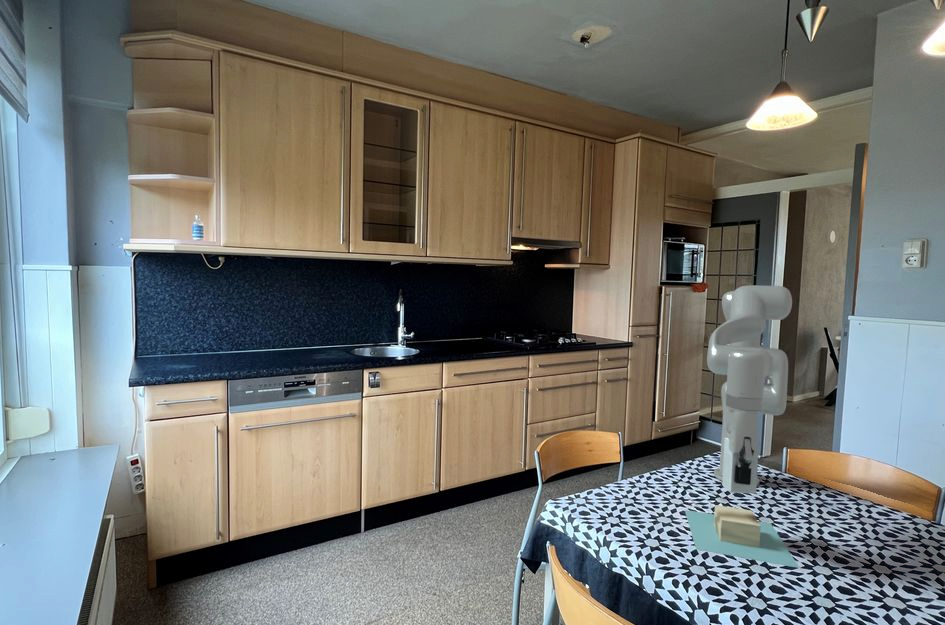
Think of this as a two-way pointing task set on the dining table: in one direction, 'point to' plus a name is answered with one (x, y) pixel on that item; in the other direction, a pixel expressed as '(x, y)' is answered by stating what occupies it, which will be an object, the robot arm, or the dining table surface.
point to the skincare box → (729, 471)
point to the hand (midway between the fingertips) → (739, 477)
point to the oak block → (737, 526)
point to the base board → (766, 552)
